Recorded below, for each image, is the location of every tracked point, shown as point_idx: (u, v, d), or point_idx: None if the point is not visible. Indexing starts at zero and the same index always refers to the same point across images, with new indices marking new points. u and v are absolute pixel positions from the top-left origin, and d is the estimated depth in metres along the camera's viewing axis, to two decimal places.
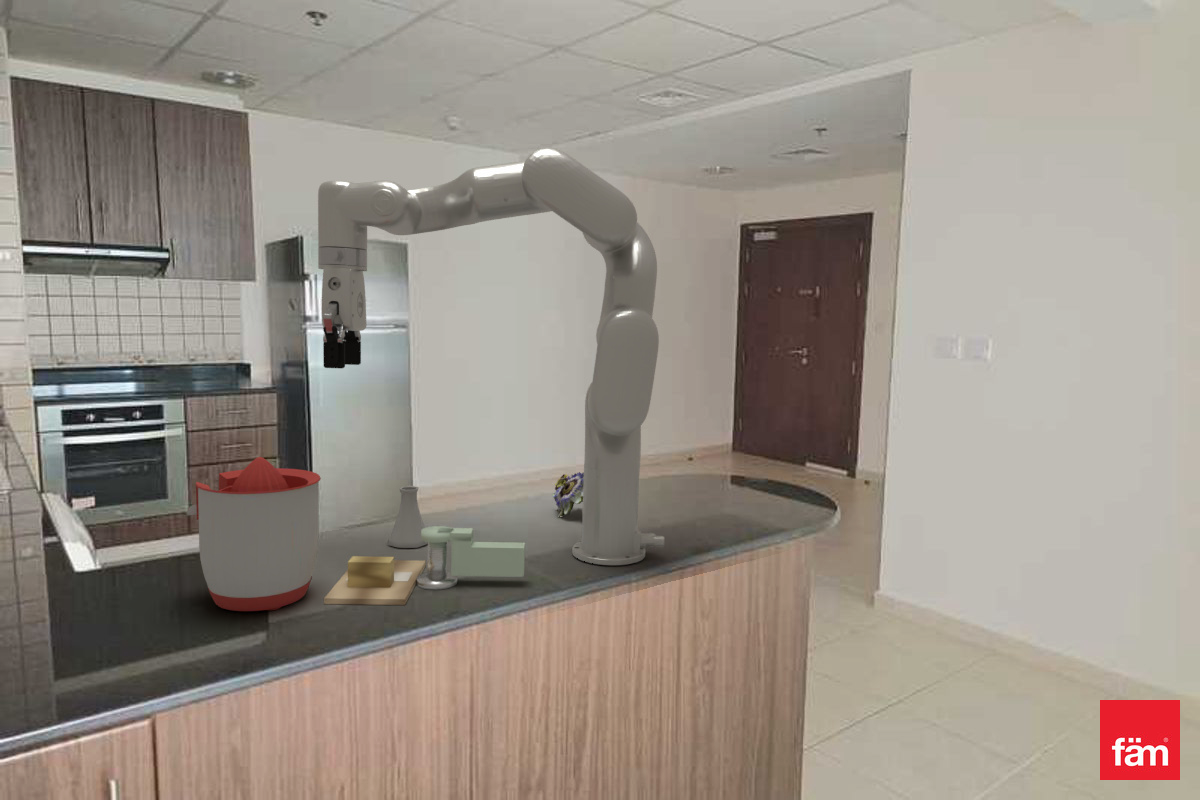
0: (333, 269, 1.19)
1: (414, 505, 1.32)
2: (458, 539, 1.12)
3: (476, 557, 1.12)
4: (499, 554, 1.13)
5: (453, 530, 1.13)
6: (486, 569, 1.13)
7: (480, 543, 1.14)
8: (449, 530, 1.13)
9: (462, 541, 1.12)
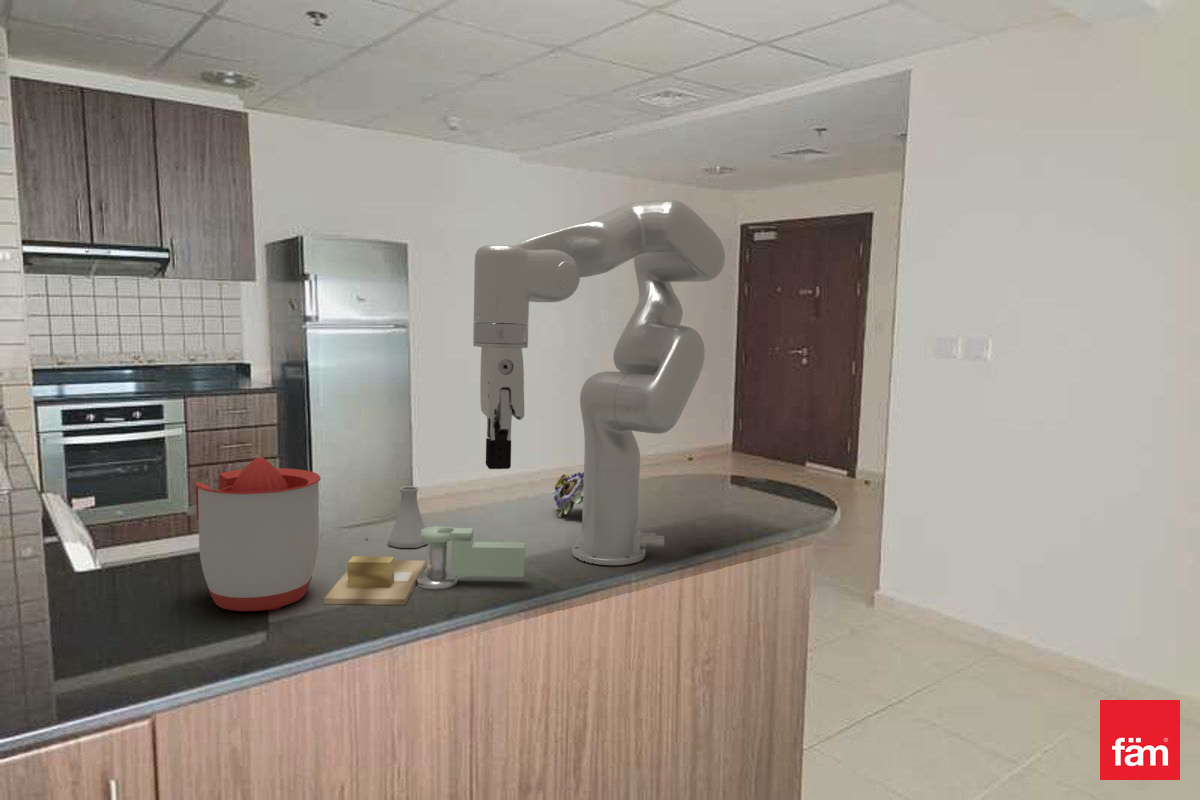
0: (503, 350, 1.01)
1: (414, 505, 1.32)
2: (458, 539, 1.12)
3: (476, 557, 1.12)
4: (499, 554, 1.13)
5: (453, 530, 1.13)
6: (486, 569, 1.13)
7: (480, 543, 1.14)
8: (449, 530, 1.13)
9: (462, 541, 1.12)
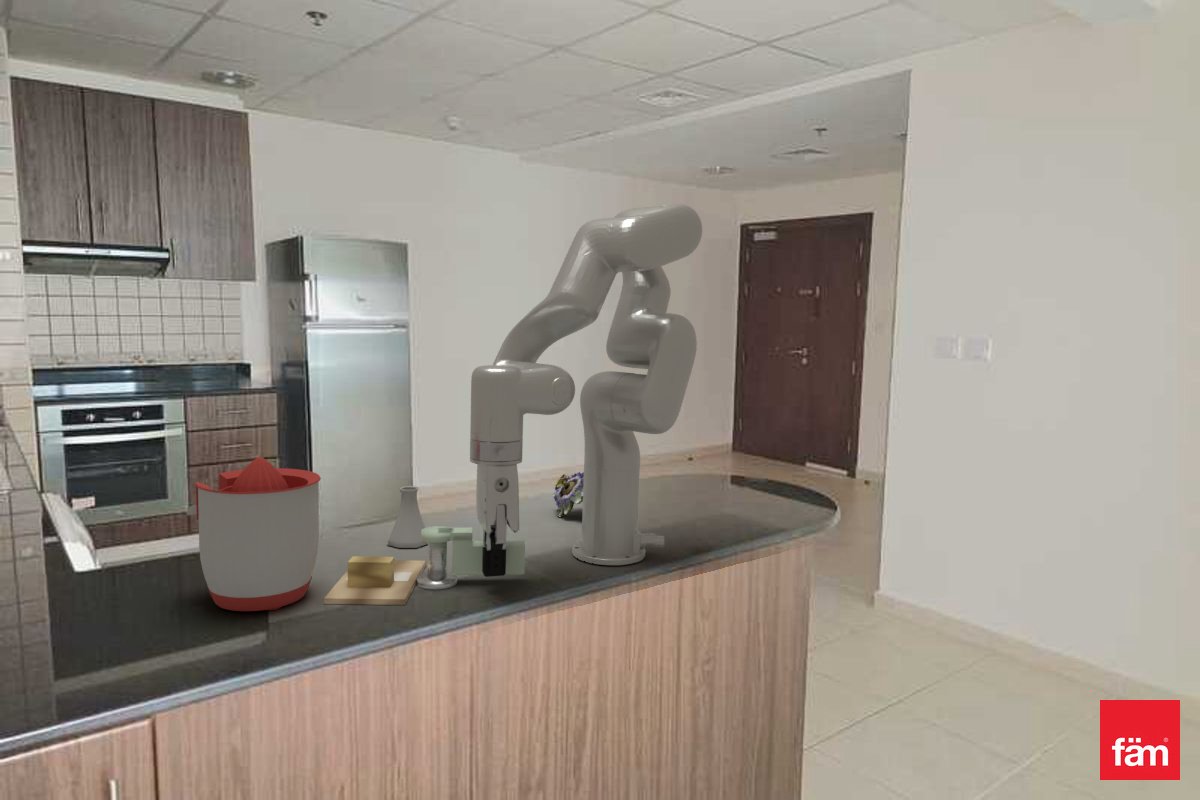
0: (499, 468, 1.05)
1: (414, 505, 1.32)
2: (459, 538, 1.12)
3: (477, 556, 1.13)
4: None
5: (454, 530, 1.13)
6: None
7: (480, 542, 1.15)
8: (449, 530, 1.13)
9: (463, 540, 1.12)
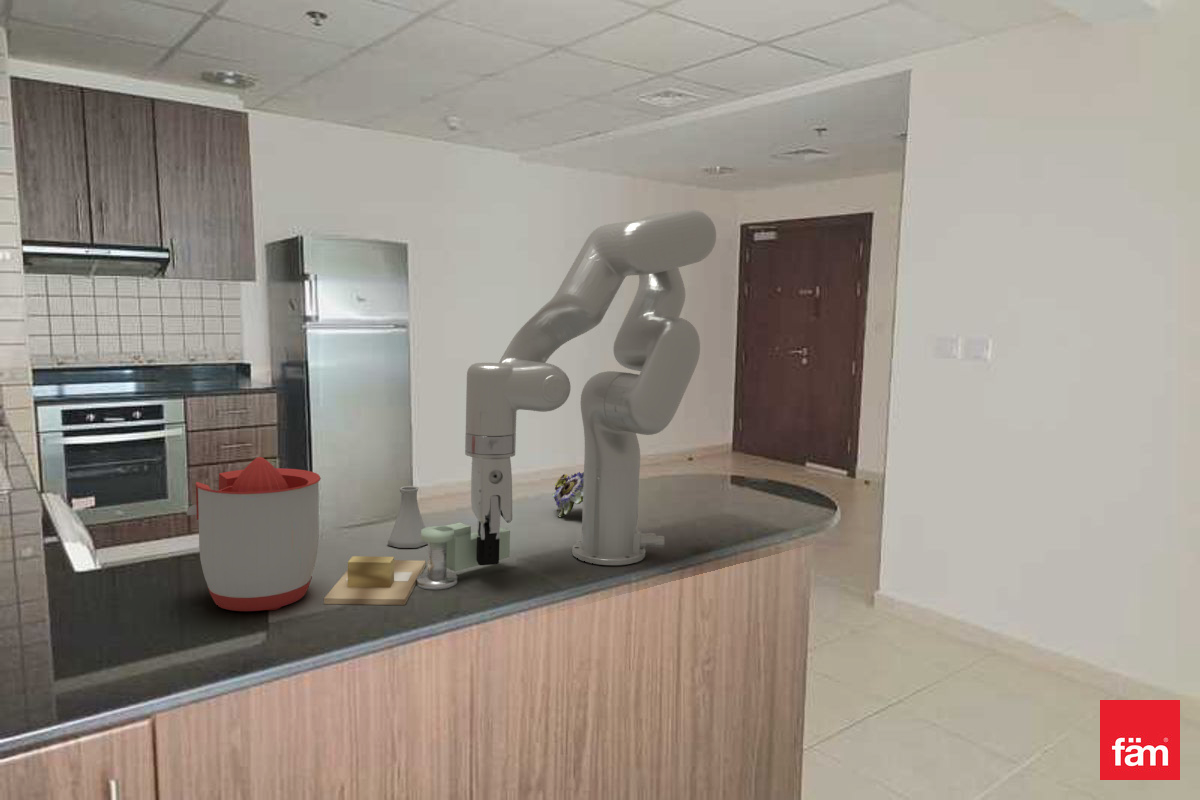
0: (493, 461, 1.10)
1: (414, 505, 1.32)
2: (461, 534, 1.15)
3: (475, 548, 1.17)
4: None
5: (451, 527, 1.15)
6: None
7: None
8: (447, 528, 1.14)
9: (464, 535, 1.15)
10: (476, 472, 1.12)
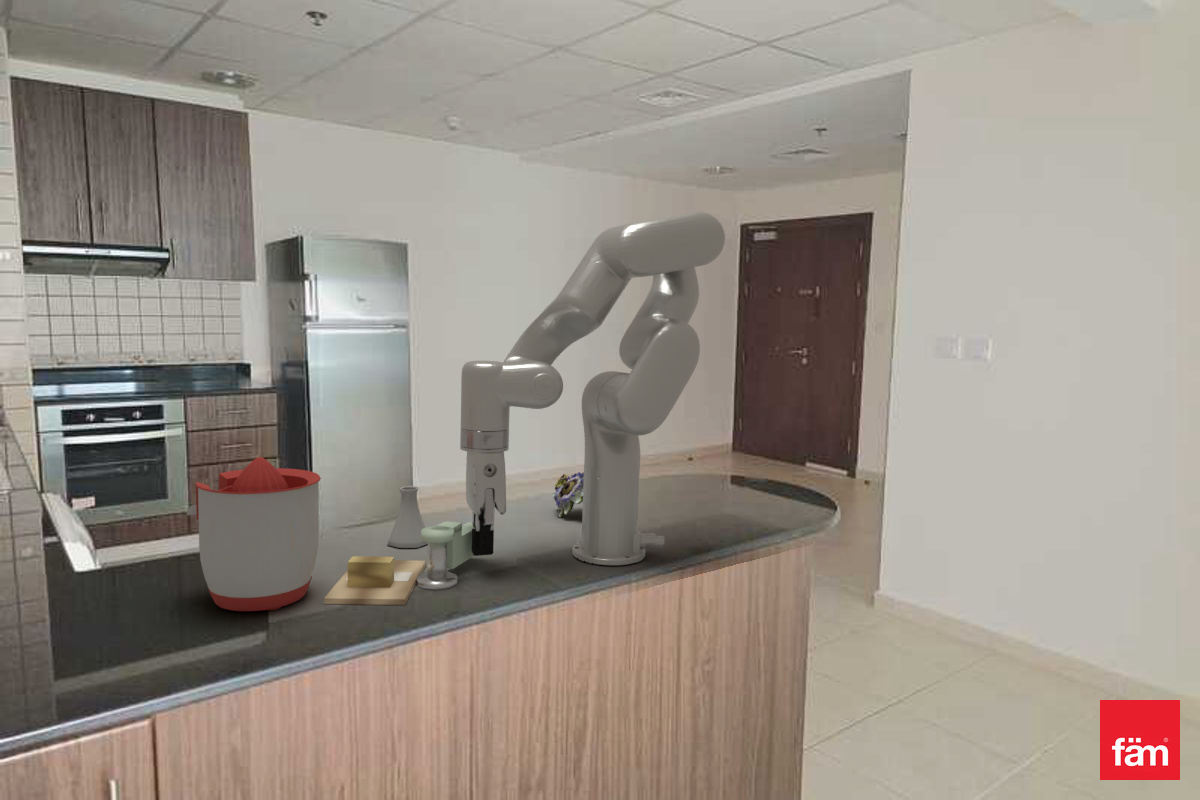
0: (488, 455, 1.14)
1: (414, 505, 1.32)
2: (456, 531, 1.16)
3: (464, 544, 1.19)
4: None
5: (446, 526, 1.15)
6: (468, 553, 1.20)
7: None
8: (443, 527, 1.15)
9: (458, 532, 1.16)
10: (471, 466, 1.16)
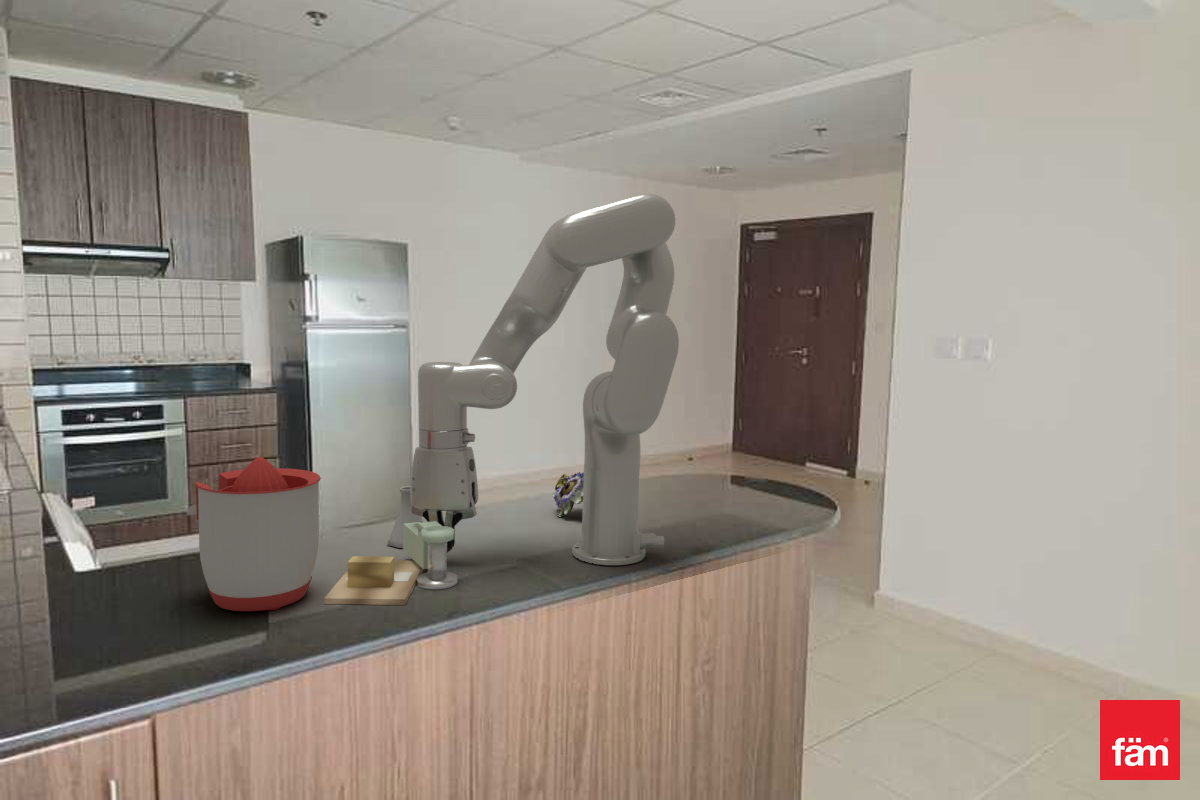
0: (468, 451, 1.20)
1: None
2: None
3: None
4: None
5: (433, 526, 1.15)
6: None
7: None
8: (433, 527, 1.15)
9: None
10: (450, 466, 1.18)
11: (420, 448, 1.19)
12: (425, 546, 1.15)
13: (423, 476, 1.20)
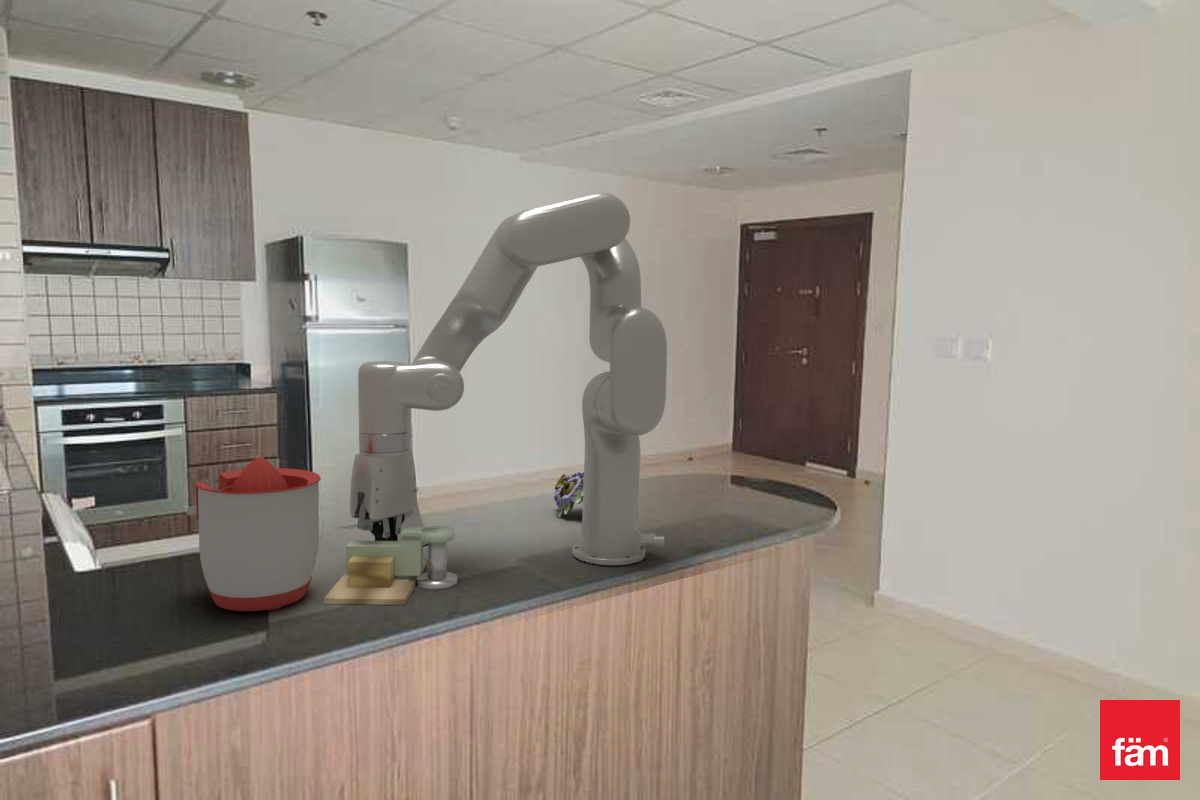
0: None
1: None
2: None
3: None
4: None
5: (421, 529, 1.13)
6: None
7: (393, 544, 1.12)
8: (425, 530, 1.13)
9: None
10: (407, 466, 1.16)
11: (384, 454, 1.11)
12: (420, 551, 1.12)
13: (386, 484, 1.12)
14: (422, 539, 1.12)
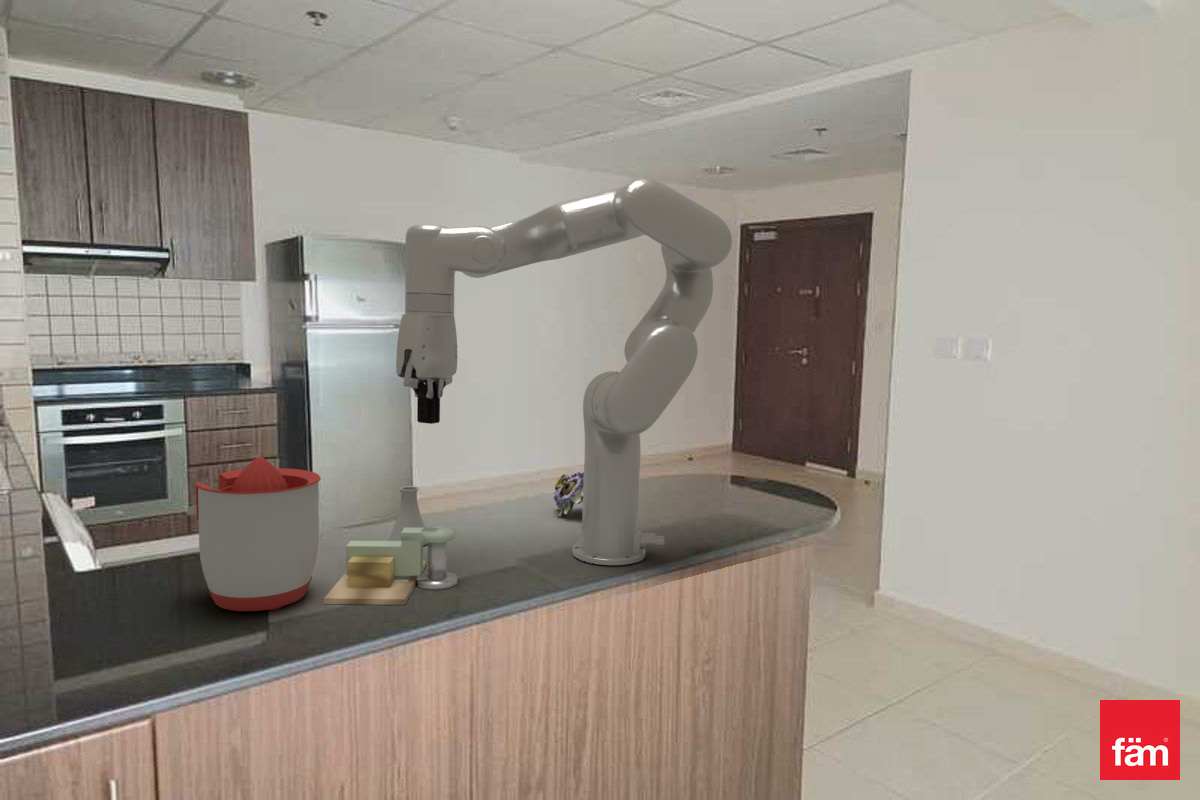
0: None
1: (414, 505, 1.32)
2: None
3: None
4: None
5: (421, 529, 1.13)
6: None
7: (393, 544, 1.12)
8: (425, 530, 1.13)
9: None
10: (450, 330, 1.20)
11: (431, 313, 1.15)
12: (420, 551, 1.12)
13: (432, 343, 1.16)
14: (422, 539, 1.12)
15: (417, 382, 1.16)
